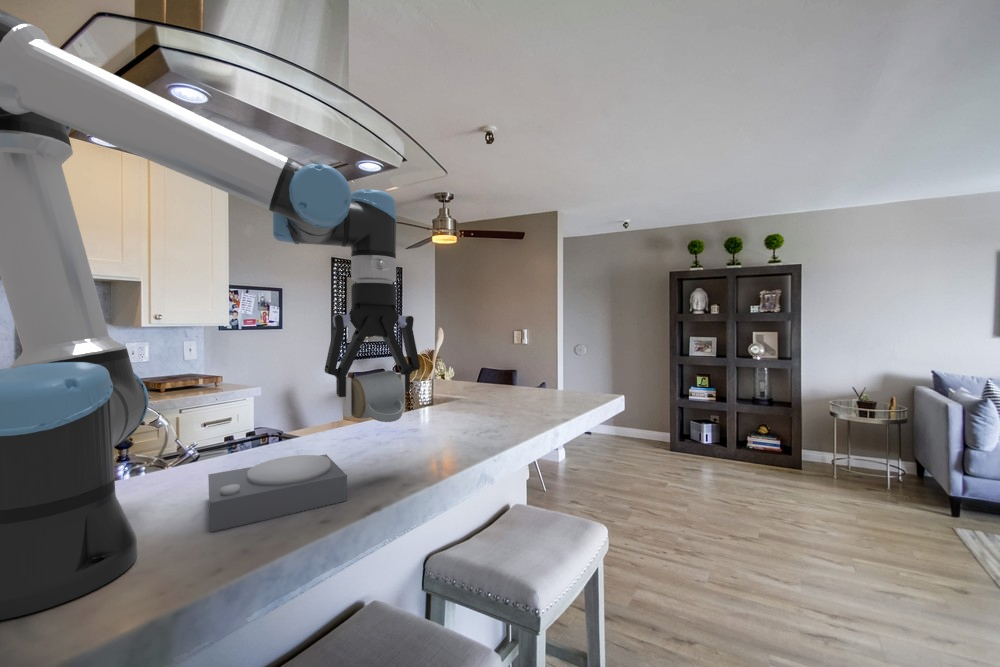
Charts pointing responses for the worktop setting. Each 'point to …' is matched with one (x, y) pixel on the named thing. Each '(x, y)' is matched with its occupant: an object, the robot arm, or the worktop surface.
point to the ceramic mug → (377, 396)
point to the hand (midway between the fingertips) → (374, 413)
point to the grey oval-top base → (274, 490)
